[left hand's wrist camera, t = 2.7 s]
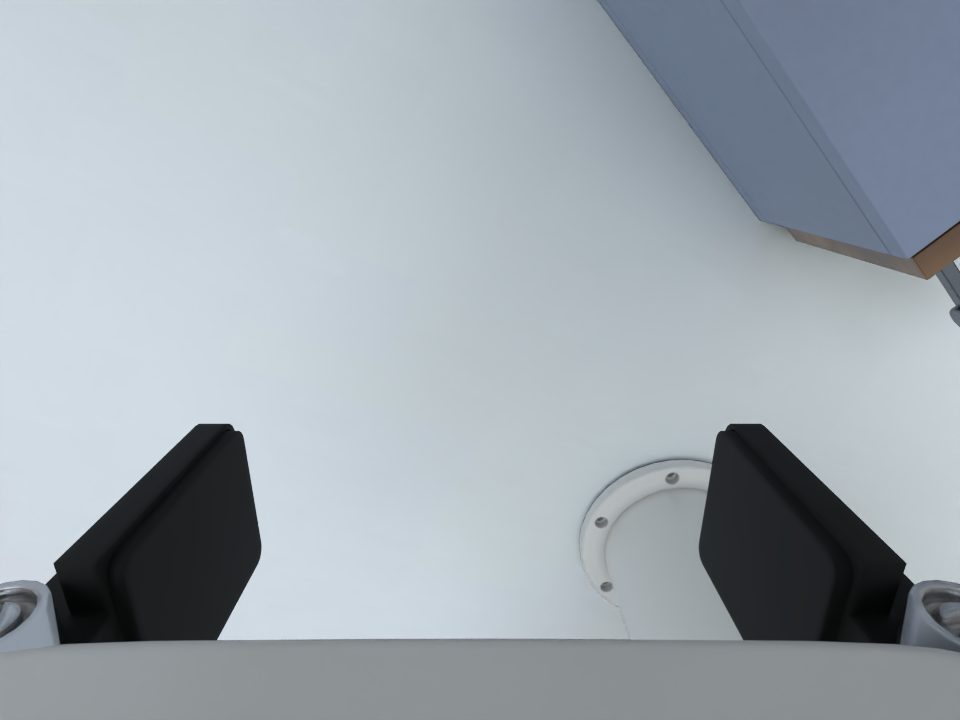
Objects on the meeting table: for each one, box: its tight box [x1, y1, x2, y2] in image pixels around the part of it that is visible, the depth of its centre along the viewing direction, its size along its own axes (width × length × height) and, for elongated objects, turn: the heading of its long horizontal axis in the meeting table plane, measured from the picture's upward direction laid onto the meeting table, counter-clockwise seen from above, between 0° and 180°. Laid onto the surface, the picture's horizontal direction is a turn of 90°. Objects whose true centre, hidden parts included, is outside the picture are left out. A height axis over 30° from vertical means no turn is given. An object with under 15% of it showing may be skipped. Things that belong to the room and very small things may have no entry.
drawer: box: [787, 221, 960, 327], centre depth 24 cm, size 25×9×10 cm, turn 43°
